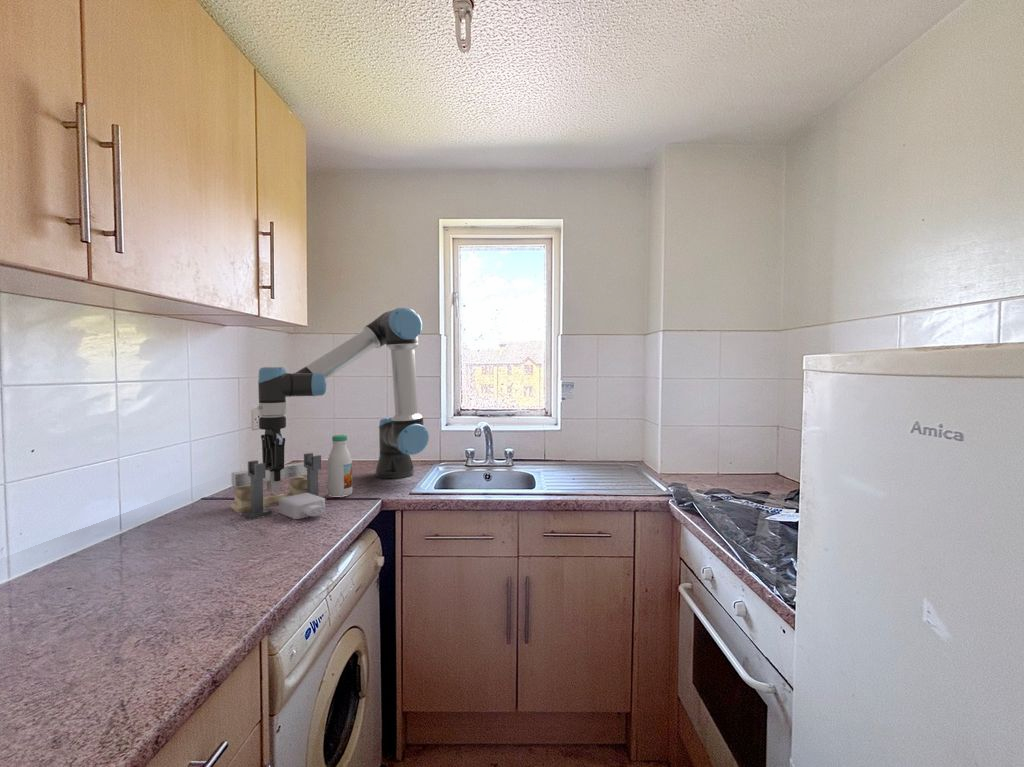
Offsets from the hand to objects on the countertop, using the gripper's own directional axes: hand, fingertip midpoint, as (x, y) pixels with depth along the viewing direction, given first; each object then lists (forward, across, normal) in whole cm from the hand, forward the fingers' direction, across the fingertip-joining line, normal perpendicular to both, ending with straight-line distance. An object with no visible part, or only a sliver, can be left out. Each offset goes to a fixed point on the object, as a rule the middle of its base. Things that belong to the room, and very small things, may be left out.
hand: (273, 489), depth 140 cm
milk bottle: (+4, +8, +18) cm, 20 cm away
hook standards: (+4, +10, 0) cm, 11 cm away
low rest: (+4, 0, 0) cm, 4 cm away
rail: (-3, 0, 0) cm, 3 cm away
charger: (+4, +21, +2) cm, 21 cm away
